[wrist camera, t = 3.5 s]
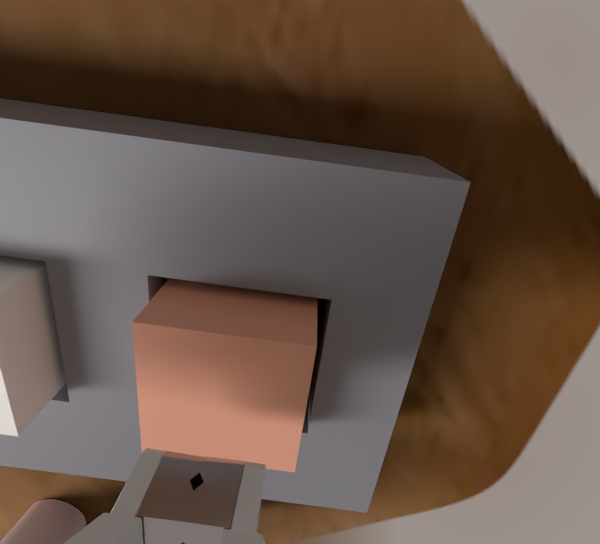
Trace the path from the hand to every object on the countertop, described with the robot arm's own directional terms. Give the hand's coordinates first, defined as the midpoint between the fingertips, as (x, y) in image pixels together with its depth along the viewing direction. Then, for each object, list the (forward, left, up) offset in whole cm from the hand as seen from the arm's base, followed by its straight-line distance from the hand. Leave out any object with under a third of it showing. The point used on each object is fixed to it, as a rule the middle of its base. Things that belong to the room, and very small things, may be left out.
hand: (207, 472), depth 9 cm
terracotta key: (0, 0, -7) cm, 6 cm away
